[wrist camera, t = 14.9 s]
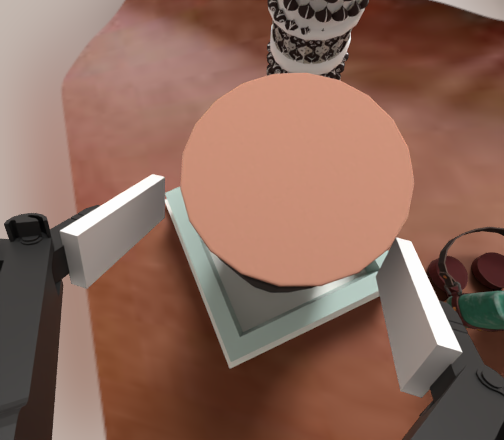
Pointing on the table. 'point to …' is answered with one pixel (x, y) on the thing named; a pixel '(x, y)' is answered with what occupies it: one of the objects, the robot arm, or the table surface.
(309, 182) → the coffee jar
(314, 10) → the decorative candle
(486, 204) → the table surface
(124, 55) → the table surface
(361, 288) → the pocket tray
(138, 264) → the table surface
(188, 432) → the table surface
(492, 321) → the binoculars
